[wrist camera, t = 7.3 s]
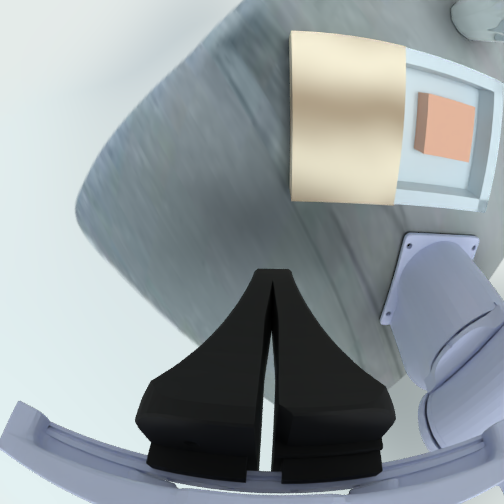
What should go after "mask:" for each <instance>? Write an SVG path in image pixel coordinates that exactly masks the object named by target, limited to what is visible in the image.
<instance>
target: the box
mask: <svg viewBox="0 0 504 504" xmlns="http://www.w3.org/2000/svg"><path fill="white" fill-rule="evenodd" d="M418 92H422V93H430V94H433V95H437V96H441V97H444V98H448V99H451V100H455V101H458V102H461V103H464V104H467V105H470V106H473V107H475V118H474V129H473V137H472V145H471V152H470V159H469V163H468V162H464V161H459V160H454V159H449V158H444V157H439V156H433V155H427V154H423V153H421V152H419V151H417V150H415V149H414V142H415V132H416V121H417V106H418ZM503 93H504V83H503V82H501V81H499V80H496V79H494V78H492V77H490V76H488V75H485V74H483V73H481V72H478V71H476V70H474V69H471V68H469V67H466V66H463V65H461V64H458V63H455V62H453V61H450V60H447V59H444V58H441V57H438V56H434V55H431V54H428V53H424V52H421V51H417V50H414V49H410V48H406V94H405V114H404V128H403V139H402V149H401V158H400V166H399V174H398V181H397V187H396V194H395V200H394V204H403V205H416V206H428V207H438V208H449V209H458V210H467V211H476V212H484V213H485V212H486V208H487V204H488V200H489V196H490V192H491V187H492V183H493V178H494V173H495V168H496V162H497V156H498V149H499V142H500V134H501V125H502V113H503Z"/></svg>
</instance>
